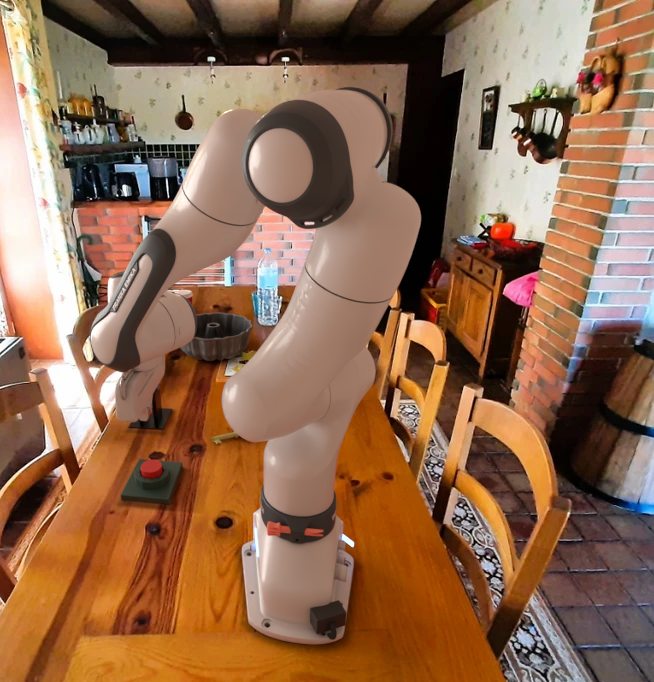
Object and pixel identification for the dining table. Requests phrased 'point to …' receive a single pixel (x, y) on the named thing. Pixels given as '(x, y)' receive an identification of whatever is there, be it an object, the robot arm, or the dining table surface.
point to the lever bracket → (154, 415)
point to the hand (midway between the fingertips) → (145, 417)
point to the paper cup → (186, 294)
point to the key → (224, 437)
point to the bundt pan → (219, 336)
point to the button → (151, 469)
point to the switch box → (152, 484)
